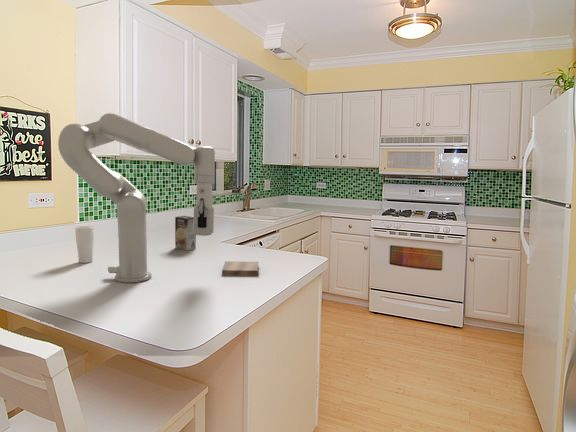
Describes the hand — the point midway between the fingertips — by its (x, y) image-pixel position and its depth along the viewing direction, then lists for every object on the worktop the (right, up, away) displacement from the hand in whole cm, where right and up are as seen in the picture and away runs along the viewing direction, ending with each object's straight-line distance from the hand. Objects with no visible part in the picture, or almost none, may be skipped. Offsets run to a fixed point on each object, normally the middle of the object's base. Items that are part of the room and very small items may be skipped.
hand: (203, 225), depth 148 cm
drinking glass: (-53, -16, +15) cm, 58 cm away
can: (0, -4, 0) cm, 4 cm away
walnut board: (+13, -19, +10) cm, 25 cm away
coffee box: (-20, -13, +48) cm, 53 cm away
